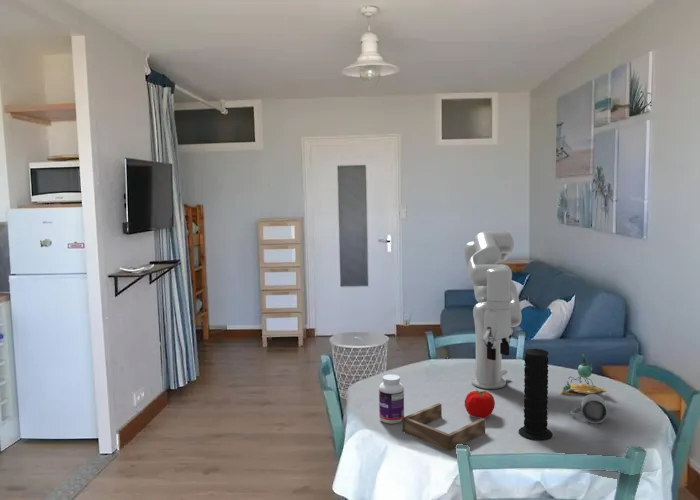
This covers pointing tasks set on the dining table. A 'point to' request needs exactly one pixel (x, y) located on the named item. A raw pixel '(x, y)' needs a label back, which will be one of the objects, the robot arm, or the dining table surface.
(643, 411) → the dining table surface
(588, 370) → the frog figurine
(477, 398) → the tomato
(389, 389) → the pill bottle
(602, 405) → the ceramic mug
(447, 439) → the box
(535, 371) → the handle grip
